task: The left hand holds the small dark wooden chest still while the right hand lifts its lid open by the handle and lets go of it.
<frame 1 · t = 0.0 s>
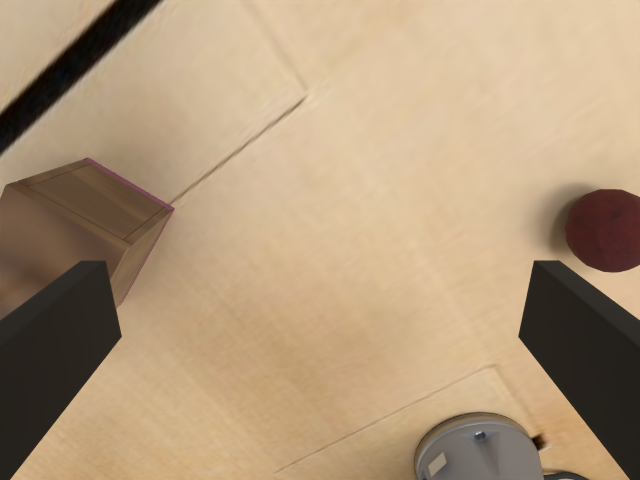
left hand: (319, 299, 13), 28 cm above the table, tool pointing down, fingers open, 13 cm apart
chest: (106, 234, 42), on the table
dark maroon ball: (586, 217, 41), on the table
lid: (7, 307, 29), point 14 cm above the table, hinge at 0.0°
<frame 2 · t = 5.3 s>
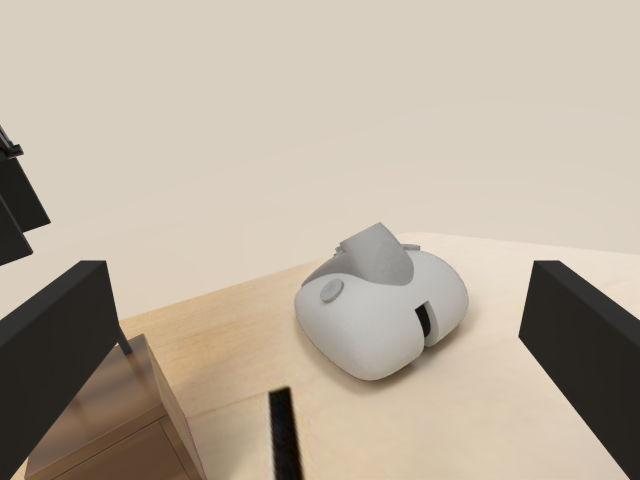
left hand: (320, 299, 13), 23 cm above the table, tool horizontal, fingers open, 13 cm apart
lid: (78, 359, 33), point 14 cm above the table, hinge at 0.0°
projector: (365, 330, 51), on the table
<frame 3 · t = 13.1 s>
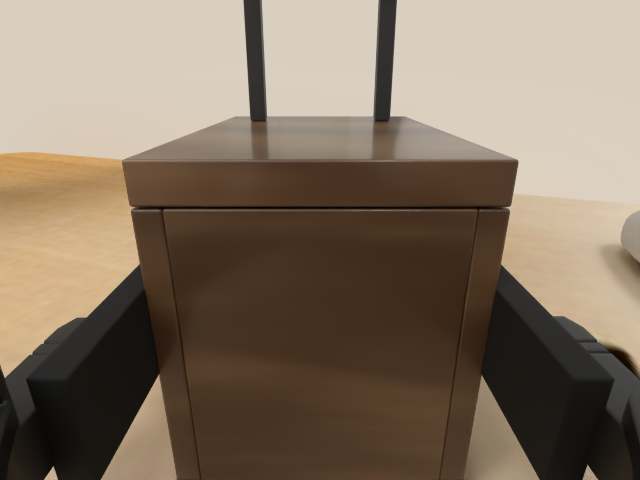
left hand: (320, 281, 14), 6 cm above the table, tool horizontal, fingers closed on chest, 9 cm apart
chest: (320, 369, 19), on the table, touching left hand
lid: (320, 37, 14), point 14 cm above the table, hinge at 0.0°
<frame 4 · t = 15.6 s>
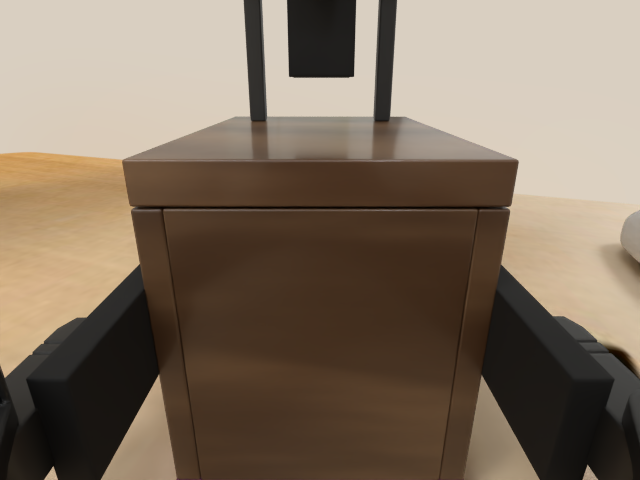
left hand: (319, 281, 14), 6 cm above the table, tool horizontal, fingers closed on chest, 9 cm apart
chest: (320, 369, 19), on the table, touching left hand
lid: (320, 37, 14), point 14 cm above the table, hinge at -0.1°, touching right hand
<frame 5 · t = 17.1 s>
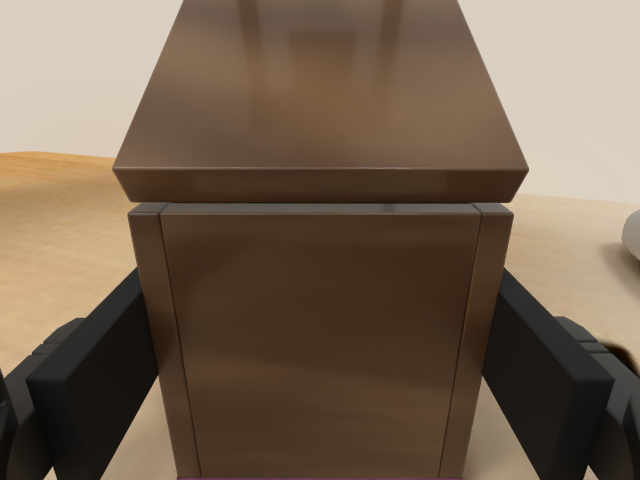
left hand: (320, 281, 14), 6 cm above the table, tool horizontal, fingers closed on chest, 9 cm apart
chest: (319, 364, 19), on the table, touching left hand
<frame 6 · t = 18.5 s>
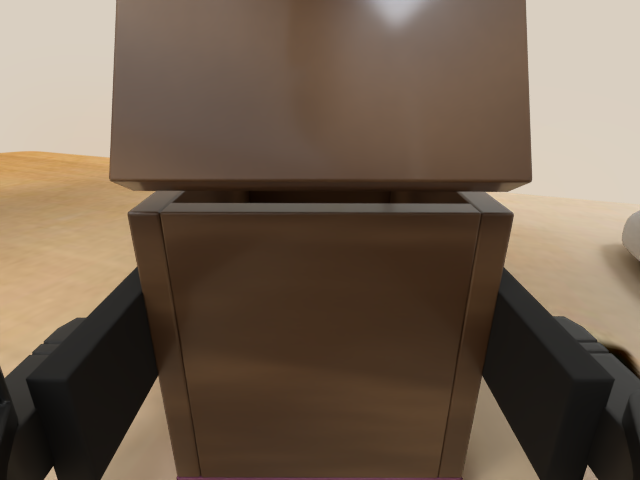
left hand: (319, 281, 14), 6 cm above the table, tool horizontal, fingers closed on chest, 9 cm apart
chest: (319, 364, 19), on the table, touching left hand
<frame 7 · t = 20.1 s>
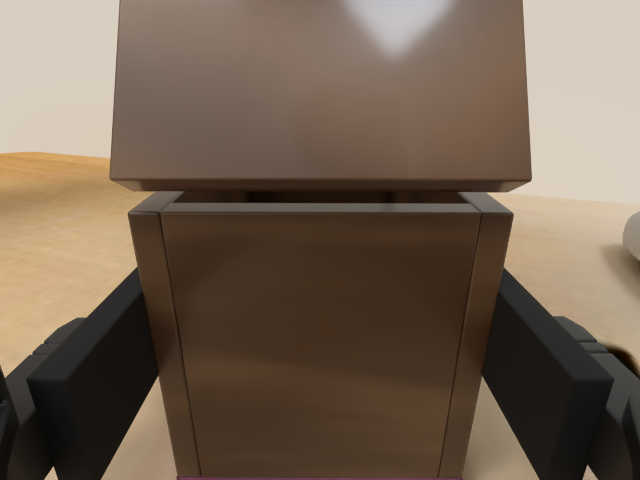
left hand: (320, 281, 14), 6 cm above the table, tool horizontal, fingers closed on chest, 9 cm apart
chest: (319, 364, 19), on the table, touching left hand
when the left hand's fingers open (6 cm above the table, at t = 22.7 s): chest stays where it is, on the table.
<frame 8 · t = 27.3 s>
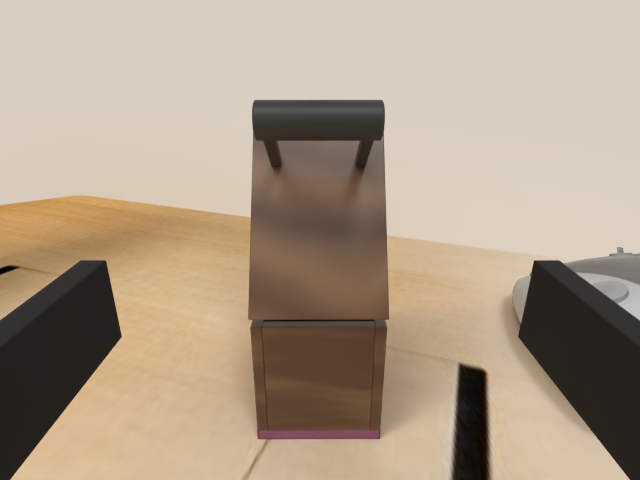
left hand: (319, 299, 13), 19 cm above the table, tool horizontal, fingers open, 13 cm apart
chest: (318, 380, 37), on the table
lid: (318, 208, 24), point 18 cm above the table, hinge at 59.5°
projector: (600, 359, 39), on the table
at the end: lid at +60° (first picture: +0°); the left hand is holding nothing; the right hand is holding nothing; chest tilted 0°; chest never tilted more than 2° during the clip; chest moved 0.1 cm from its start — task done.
